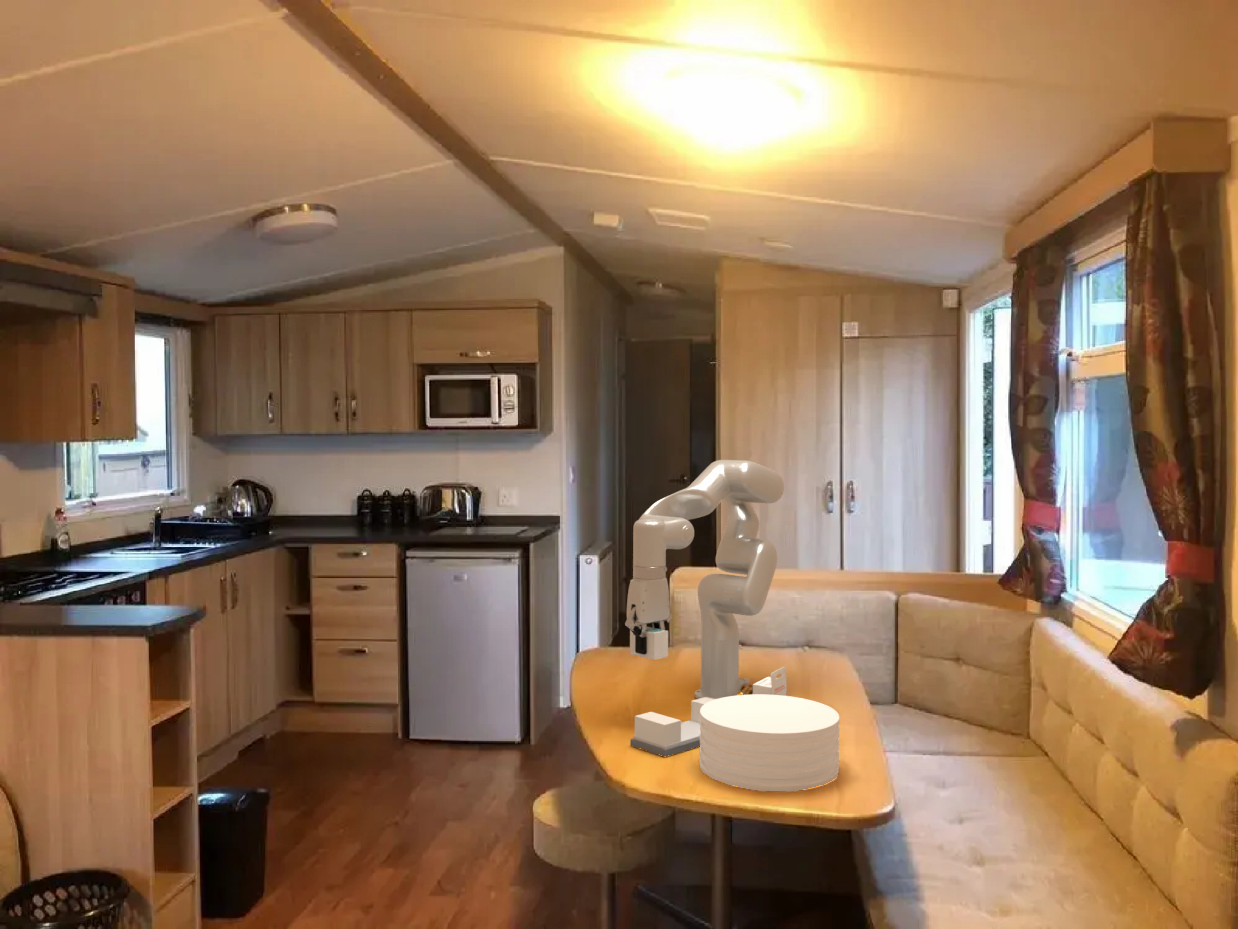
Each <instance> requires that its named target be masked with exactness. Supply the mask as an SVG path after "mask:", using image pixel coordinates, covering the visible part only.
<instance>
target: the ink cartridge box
mask: <svg viewBox="0 0 1238 929" xmlns="http://www.w3.org/2000/svg"><path fill="white" fill-rule="evenodd" d="M778 675H780V676H779V677H777V676H778ZM787 684H788V681H787V670H786V666H785V665H784V666H783V667H780V668H778V669H776V670H774V671H773V672H770V676H767V677H765V678H762V679H761V680H759V681H757V682H755V683H753V684H752V694H766V695H782V696H788V695H787V693H788V688H787V687H788V686H787Z"/></svg>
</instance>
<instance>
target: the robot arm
mask: <svg viewBox="0 0 1238 929" xmlns="http://www.w3.org/2000/svg"><path fill="white" fill-rule="evenodd" d="M784 483H785V482H784V480H783V477H782V476H781V474H780V473H779V472H778V471H776V470H774V469H772V468H769V467H767V466H764V465H762V464H759V463H757V462H756V461H755V462H754V461H750V460H744V459H741V460H740V459H739V460H738V459H736V460H735V459H718V460H715V461H713V462H711V463H710V464H709V465H708V466H707V467H705V469H704V470H703V471H702V472H701V473H700V474H699V475H698V476H697V477H696V478H695V479H694V481H692V482H691V484H689V486H687V487H685V488H683V489H681V490H678V491H676V492H674V493H672V494H670V495H667V496H665V497H663V498H661V499H659V500H656V501H655V502H654V503H653V504H652V505H650V506H649V508H647V509H646V510H645V512H644V513H642V515H641V516H640V517H639V519H638V520H636V521H634V524H633V530H632V531H633V532H632V535H633V536H632V537H633V538H632V540H633V541H632V542H633V544H632V545H633V547H632V548H633V550H632V552H633V553H632V557H633V558H632V569H633V570H632V576H633V577H632V579H630V580H629V582H630V583H629V585H628V593H627V602H626V620H625V623H624V625H625V626H626V627H627V628H628V629H629V631H630V630H631V631H632V632H633V635H634V636H635V652H636V653H639V654H646V653H647V637H644V636H645V632H646V626H647V625H648V624H651V625H652V628H657V629H661V630H666V628H667V626H668V624H669V623H670V621H671V620H672V619H673V615H672V613H671V611H670V589H669V583H668V579H667V574H666V572H667V571H668V567H667V564H666V563H667V559H666V558H667V553H666V552H667V551H666V550H682V549H685V548H687V547H688V546H689V545H691V543H692V542H693V540H694V537H695V529H694V526H693V524H692V523H691V522H690V520H695V519H698V518H701V517H705V516H708V515H710V514H711V513H713V512H714V511H715V509H716V508H717V507H718V506H719V505H720V504H721V503H722V501H723V500H724V502H725V506H726V510H727V519H726V523H725V527H724V530H723V533H722V536H721V540H720V542H719V545H718V547H717V551H716V555H715V564H716V567H717V568H718V569H719V570H720V571H722V572H725V573H729V574H725V573H711V574H707V575H706V576H704V577H703V578H701V580H700V581H699V583H698V587H697V599H698V600H697V601H698V604H699V605H698V606H699V610H700V620H701V621H700V624H701V626H700V627H701V634H700V635H701V636H700V638H701V640H700V641H701V642H700V646H701V647H700V688H699V689H697V690H695V691H694V697H695V699H700V698H704V697H708V698H712V699H719V698H723V697H728V696H736V695H737V694H738V692H739V691H741V688H742V687H745V686H748V685H749V684H750V679H749V678H748V677H742V678H739V669H740V668H739V666H740V665H739V660H740V659H739V658H740V656H739V655H740V653H739V650H740V649H739V647H740V640H739V639H740V638H739V637H740V631H739V625H738V622H737V620H736V617H735V616H734V614H735V615H739V616H749V617H751V616H752V617H753V616H756V615H758V614H759V613H760V612H761V611H762V610H763V608H764V606H765V604H766V600H767V597H768V595H769V591H770V587H771V585H772V582H773V578H774V575H775V573H776V568H777V564H778V551H777V548H776V546H775V545H774V544H773V543H772V542H771V541H770V540H768V539H765V538H757V537H758V533H759V529H760V520H759V517H758V515H757V513H756V511H755V510H754V507H753V506H752V504H751V503H755V504H775V503H777V502H779V500H780V499H781V498H782V496H783V494H784V491H785V484H784ZM734 574H736V575H734ZM740 575H741V576H740ZM743 575H744V576H743ZM745 575H746V576H745ZM639 627H641V630H640V629H639ZM647 627H648V626H647Z"/></svg>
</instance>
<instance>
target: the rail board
mask: <svg viewBox="0 0 1238 929" xmlns="http://www.w3.org/2000/svg"><path fill="white" fill-rule="evenodd" d="M712 700H715V699H712V698H708V697H704V698H700V699H697V698H695V699H693V700H691V701H690V720H687V721H683V722H682V720H680V719H677V718H675V717H670V716H668V715H664V714H660V713H657V712H655V711H649V712H645V713H641V714H637V715H634V736H633V737H632V738H630V740H629V741H630V747H632V746H633V747H632V748H635V747H636V749H638V748H641V749H643V750H642V751H644V750H647V751H649V752H648V753H650V752H652V753H651V754H653V753H654V754H653V755H656V754H660V755H662V756H668V755H672V754H675V755H678V754H681V753H684V752H683V751H685V752H687V751H686V750H688V751H690V750H689V749H691V748H694V749H697V748H699V747H698V746H700V745H701V744H700V733H701V732H700V721H701V719H700V709H701V707H702V706H703V705H704V704H706V703H707V702H709V701H712ZM696 747H697V748H696ZM641 749H640V750H641ZM691 750H692V749H691ZM647 751H646V752H647ZM680 752H681V753H680ZM662 756H661V757H662ZM672 756H673V755H672Z"/></svg>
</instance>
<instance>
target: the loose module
mask: <svg viewBox="0 0 1238 929" xmlns="http://www.w3.org/2000/svg"><path fill="white" fill-rule="evenodd" d="M639 629H640V630H641V626H639ZM644 637H647V653H646V654H639V653H636V652H635V636H634V635H633V632H632V631H631V630H630V629H629V654H630V655H632V656H637V657H640V658H645V659H649V660H653V661H656V660H660V659H665V658H668V657H669V630H666V629H665V630H661V629H657V628H653V626H652V627H651V626H646V632H645V636H644Z"/></svg>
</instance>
